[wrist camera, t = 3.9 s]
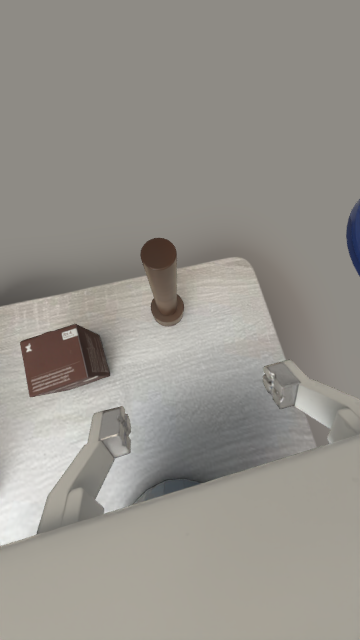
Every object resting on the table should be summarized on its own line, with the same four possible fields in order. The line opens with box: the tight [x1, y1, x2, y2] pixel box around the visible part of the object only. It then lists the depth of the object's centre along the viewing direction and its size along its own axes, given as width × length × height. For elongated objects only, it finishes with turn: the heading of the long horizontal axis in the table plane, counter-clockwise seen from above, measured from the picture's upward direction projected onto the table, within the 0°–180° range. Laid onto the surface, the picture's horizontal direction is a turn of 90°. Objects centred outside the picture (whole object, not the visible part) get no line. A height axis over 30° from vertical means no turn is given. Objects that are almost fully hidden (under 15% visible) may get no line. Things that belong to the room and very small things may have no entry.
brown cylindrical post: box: [141, 238, 184, 326], centre depth 22 cm, size 4×4×16 cm
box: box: [20, 324, 110, 397], centre depth 25 cm, size 6×6×7 cm
